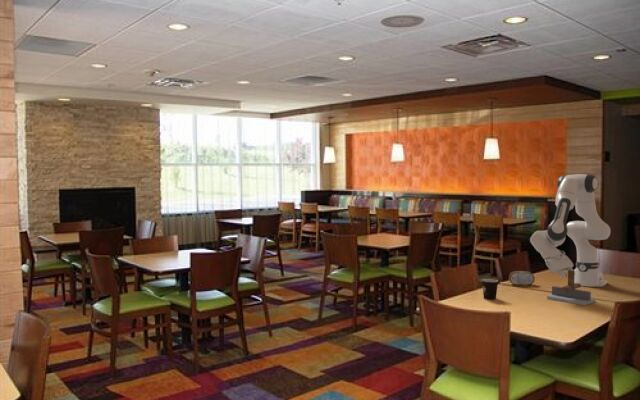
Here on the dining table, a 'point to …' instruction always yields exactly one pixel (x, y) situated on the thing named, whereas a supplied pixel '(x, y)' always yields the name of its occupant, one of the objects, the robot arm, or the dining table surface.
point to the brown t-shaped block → (570, 282)
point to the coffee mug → (489, 288)
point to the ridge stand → (571, 296)
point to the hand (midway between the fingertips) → (569, 276)
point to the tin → (521, 278)
